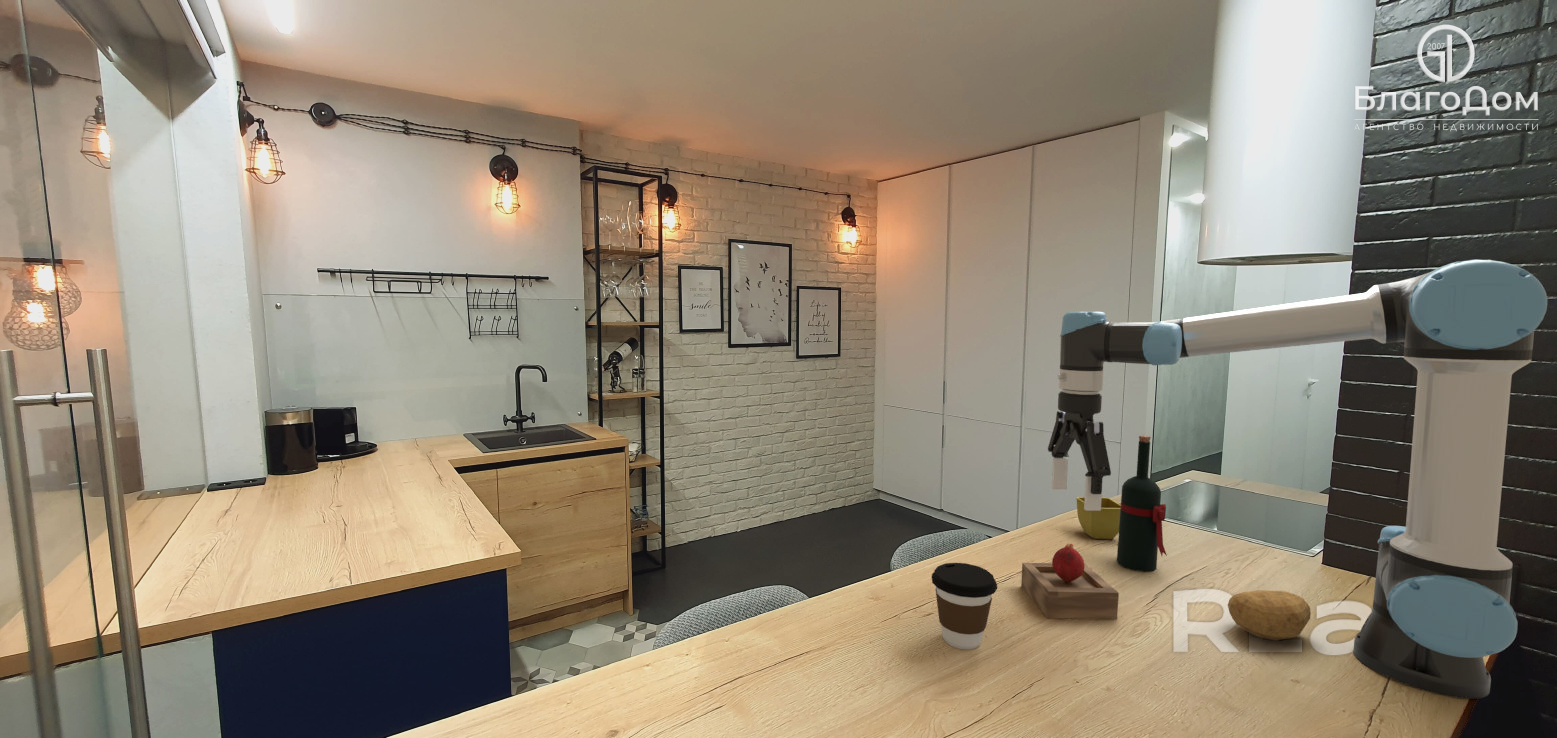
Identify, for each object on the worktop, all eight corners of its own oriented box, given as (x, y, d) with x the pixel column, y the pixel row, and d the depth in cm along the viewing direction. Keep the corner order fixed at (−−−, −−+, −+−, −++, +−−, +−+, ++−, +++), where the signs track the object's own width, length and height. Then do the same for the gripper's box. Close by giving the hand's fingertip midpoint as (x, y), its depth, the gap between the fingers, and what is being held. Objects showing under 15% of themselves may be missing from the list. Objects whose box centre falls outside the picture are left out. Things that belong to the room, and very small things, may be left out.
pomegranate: (1081, 591, 115) (1084, 551, 114) (1049, 584, 118) (1051, 545, 117) (1084, 580, 120) (1087, 541, 119) (1053, 573, 123) (1055, 535, 122)
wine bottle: (1151, 578, 130) (1160, 443, 127) (1108, 560, 139) (1116, 434, 137) (1174, 572, 133) (1184, 440, 131) (1131, 555, 143) (1139, 431, 140)
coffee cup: (916, 631, 108) (918, 566, 106) (964, 619, 112) (967, 557, 111) (957, 663, 98) (960, 593, 96) (1008, 649, 102) (1011, 581, 101)
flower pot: (1125, 542, 151) (1127, 508, 150) (1090, 542, 151) (1092, 507, 150) (1106, 530, 160) (1108, 497, 159) (1073, 529, 160) (1075, 496, 159)
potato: (1329, 646, 104) (1333, 602, 103) (1262, 654, 101) (1266, 608, 101) (1273, 618, 114) (1277, 577, 113) (1211, 624, 111) (1214, 583, 110)
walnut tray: (1117, 619, 112) (1118, 592, 112) (1047, 617, 113) (1048, 591, 112) (1083, 587, 125) (1085, 563, 125) (1021, 586, 126) (1022, 562, 125)
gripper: (1033, 384, 128) (1029, 481, 130) (1093, 400, 103) (1087, 520, 105) (1069, 384, 128) (1064, 481, 130) (1137, 400, 103) (1130, 520, 105)
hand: (1074, 499), depth 117 cm, fingers open, 13 cm apart
